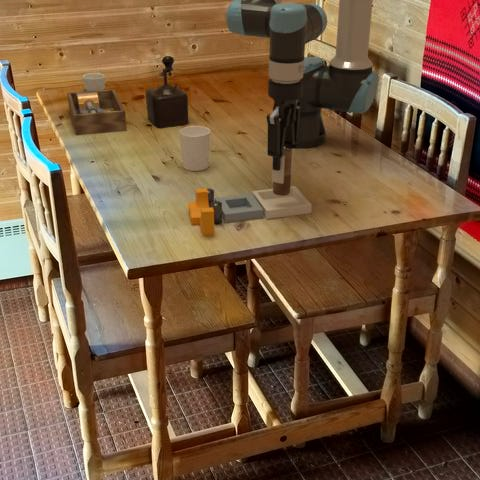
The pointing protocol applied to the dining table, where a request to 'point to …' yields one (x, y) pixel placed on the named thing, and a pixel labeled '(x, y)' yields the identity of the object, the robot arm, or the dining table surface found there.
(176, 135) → the dining table surface
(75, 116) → the tool caddy
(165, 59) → the coffee grinder
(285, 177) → the dowel
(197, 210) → the pipe clamp
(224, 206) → the jig block
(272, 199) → the tray
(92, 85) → the teacup
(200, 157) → the white cup
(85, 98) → the vise
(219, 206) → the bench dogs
